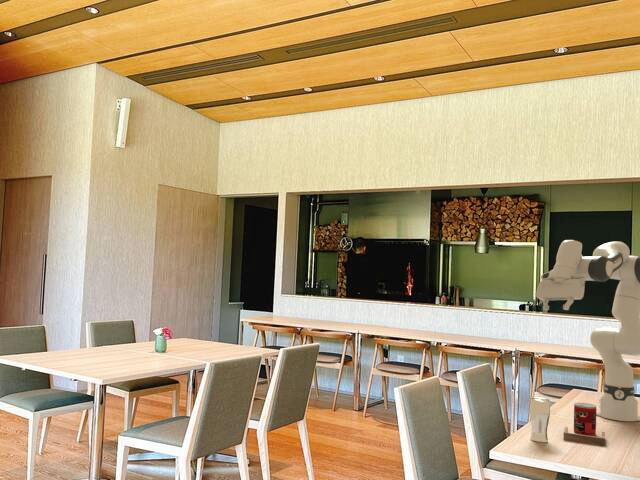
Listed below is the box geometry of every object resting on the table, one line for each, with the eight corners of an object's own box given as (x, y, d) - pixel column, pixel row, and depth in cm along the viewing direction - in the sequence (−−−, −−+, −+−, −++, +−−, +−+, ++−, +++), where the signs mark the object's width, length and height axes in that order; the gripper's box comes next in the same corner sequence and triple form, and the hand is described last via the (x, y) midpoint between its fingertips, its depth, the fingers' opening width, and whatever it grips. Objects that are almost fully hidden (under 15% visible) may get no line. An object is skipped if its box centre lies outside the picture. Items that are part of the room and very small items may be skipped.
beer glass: (550, 443, 216) (551, 401, 217) (530, 441, 217) (531, 400, 218) (547, 438, 223) (548, 398, 224) (527, 436, 224) (529, 396, 225)
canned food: (569, 430, 237) (570, 402, 238) (589, 430, 238) (589, 402, 238) (579, 435, 230) (580, 406, 230) (599, 436, 230) (600, 407, 231)
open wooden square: (564, 433, 232) (564, 426, 232) (604, 438, 226) (604, 432, 226) (563, 439, 223) (563, 432, 223) (605, 445, 217) (605, 438, 217)
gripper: (591, 279, 228) (583, 312, 224) (548, 281, 246) (540, 312, 242) (580, 272, 226) (572, 305, 222) (537, 275, 244) (529, 306, 240)
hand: (555, 309), depth 232 cm, fingers open, 8 cm apart
